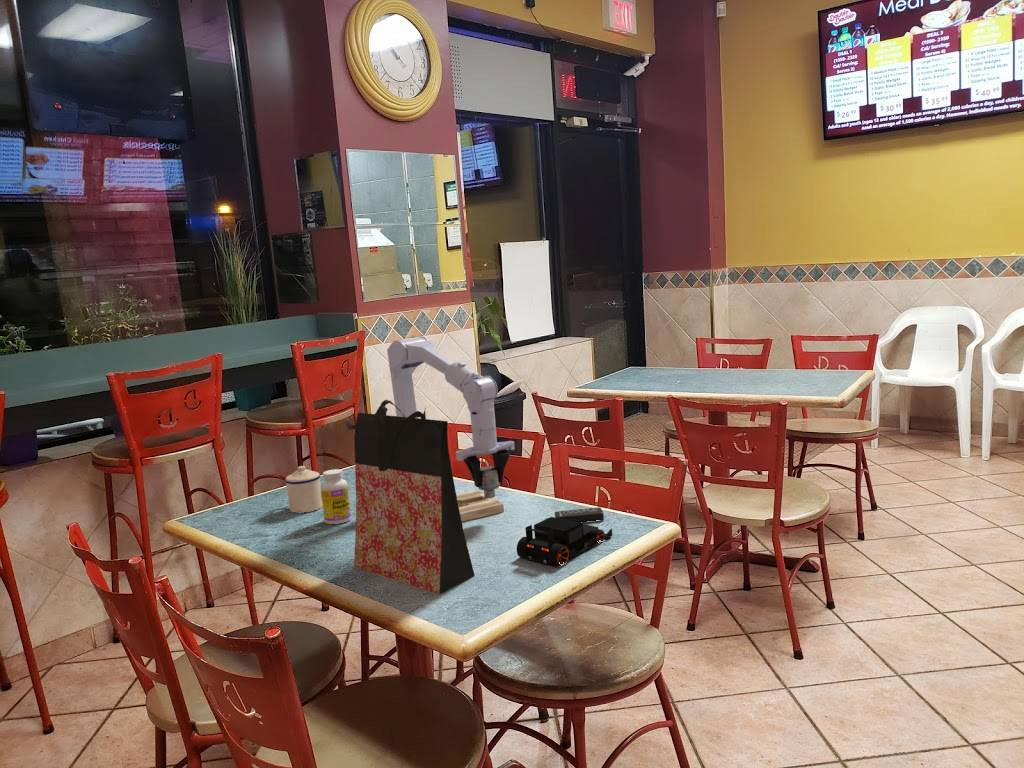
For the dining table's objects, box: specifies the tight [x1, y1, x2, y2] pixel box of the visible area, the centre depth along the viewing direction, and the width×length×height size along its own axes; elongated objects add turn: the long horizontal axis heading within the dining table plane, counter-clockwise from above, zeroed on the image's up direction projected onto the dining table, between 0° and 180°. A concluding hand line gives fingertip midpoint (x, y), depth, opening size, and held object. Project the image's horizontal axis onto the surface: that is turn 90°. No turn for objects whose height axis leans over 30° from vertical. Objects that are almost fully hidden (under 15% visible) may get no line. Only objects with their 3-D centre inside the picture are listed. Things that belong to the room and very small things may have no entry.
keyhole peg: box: [478, 465, 500, 499], centre depth 182 cm, size 5×5×7 cm
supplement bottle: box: [320, 468, 352, 525], centre depth 192 cm, size 7×7×13 cm
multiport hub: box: [554, 506, 605, 523], centre depth 178 cm, size 4×11×2 cm, turn 93°
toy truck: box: [516, 516, 613, 567], centre depth 161 cm, size 10×20×7 cm, turn 139°
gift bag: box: [345, 399, 476, 595], centre depth 154 cm, size 29×14×35 cm, turn 49°
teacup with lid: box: [284, 465, 323, 513], centre depth 205 cm, size 12×9×12 cm
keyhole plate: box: [456, 489, 505, 523], centre depth 192 cm, size 16×15×2 cm
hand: (488, 484), depth 182 cm, fingers closed on keyhole peg, 5 cm apart
